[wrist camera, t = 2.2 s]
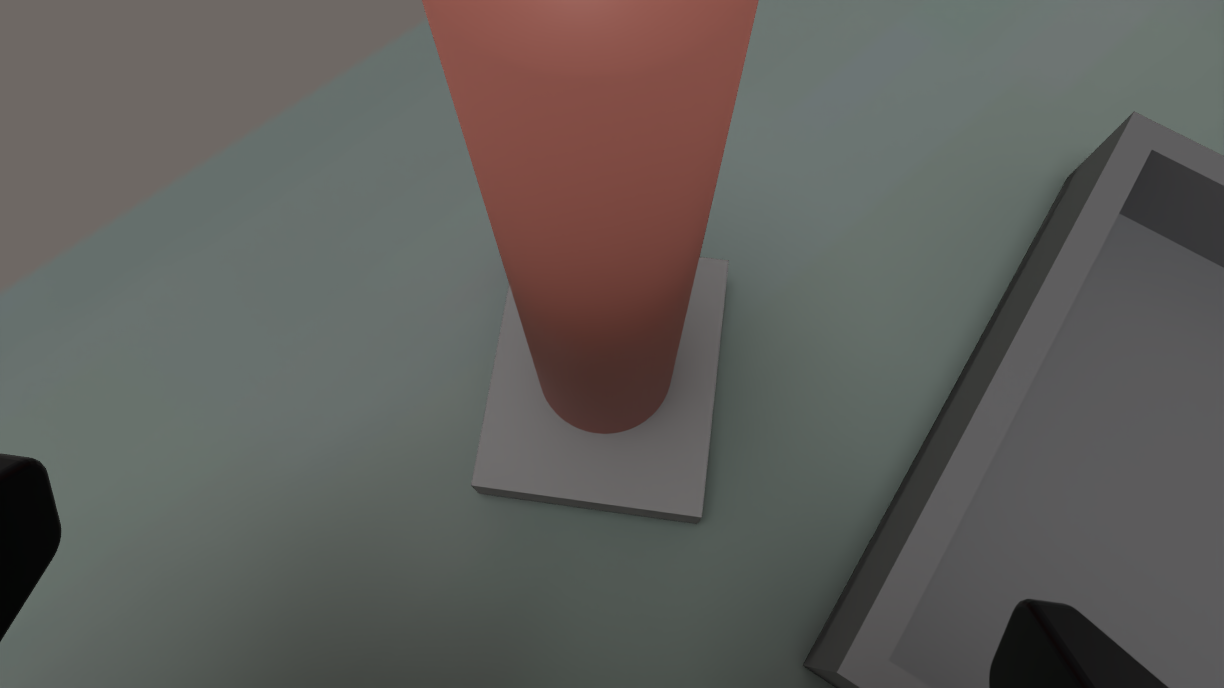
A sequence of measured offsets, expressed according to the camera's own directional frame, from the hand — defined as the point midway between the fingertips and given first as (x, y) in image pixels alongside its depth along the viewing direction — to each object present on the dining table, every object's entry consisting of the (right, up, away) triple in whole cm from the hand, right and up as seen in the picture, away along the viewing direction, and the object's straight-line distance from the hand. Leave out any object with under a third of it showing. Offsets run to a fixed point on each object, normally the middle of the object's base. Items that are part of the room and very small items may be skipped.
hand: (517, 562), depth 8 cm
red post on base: (+1, +1, +13) cm, 13 cm away
